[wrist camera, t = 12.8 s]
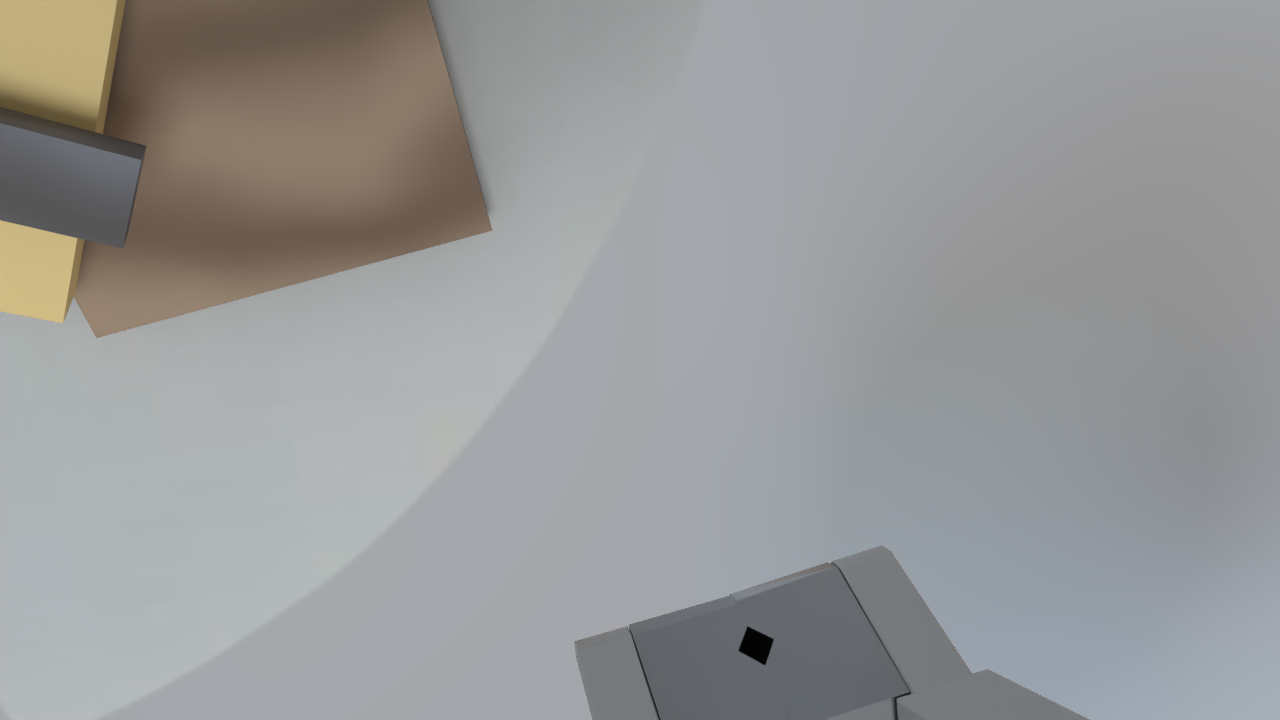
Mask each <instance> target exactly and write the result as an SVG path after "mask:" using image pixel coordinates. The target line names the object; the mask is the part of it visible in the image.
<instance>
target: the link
mask: <svg viewBox="0 0 1280 720" xmlns="http://www.w3.org/2000/svg"><path fill="white" fill-rule="evenodd" d="M125 1H126V0H0V107H3V108H7V109H11V110H15V111H18V112H22V113H26V114H30V115H33V116H37V117H41V118H44V119H48V120H52V121H56V122H59V123H63V124H67V125H71V126H74V127H78V128H82V129H85V130H89V131H93V132H97V133H100V134H103V129H104V124H105V118H106V112H107V106H108V100H109V94H110V88H111V83H112V77H113V71H114V65H115V59H116V53H117V47H118V42H119V36H120V30H121V24H122V18H123V12H124V7H125ZM84 241H85V240H83V239H79V238H75V237H70V236H66V235H62V234H57V233H53V232H49V231H44V230H40V229H36V228H31V227H27V226H23V225H19V224H14V223H10V222H6V221H1V220H0V311H2V312H7V313H12V314H17V315H23V316H28V317H33V318H38V319H44V320H49V321H54V322H60V323H63V322H64V319H65V317H66V314H67V312H68V309H69V307H70V304H71V302H72V299H73V297H74V294H75V292H76V287H77V281H78V276H79V270H80V264H81V258H82V252H83V246H84Z"/></svg>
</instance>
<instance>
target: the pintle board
mask: <svg viewBox="0 0 1280 720" xmlns="http://www.w3.org/2000/svg"><path fill="white" fill-rule="evenodd" d="M0 220H1V221H6V222H10V223H14V224H19V225H23V226H27V227H31V228H36V229H40V230H44V231H49V232H53V233H57V234H62V235H66V236H70V237H75V238H79V239H83V240H85V241H84V246H83V252H82V258H81V264H80V270H79V276H78V281H77V287H76V292H75V294H74V298H75V299H76V301H77V303H78V305H79V307H80V309H81V311H82V312H83V314H84V316H85V318H86V320H87V322H88V323H89V325H90V327H91V329H92V331H93V333H94V334H95V336H96V338H98V337H102V336H105V335H109V334H113V333H116V332H120V331H124V330H127V329H131V328H135V327H139V326H142V325H146V324H150V323H153V322H157V321H161V320H164V319H168V318H172V317H175V316H179V315H183V314H186V313H190V312H194V311H197V310H201V309H205V308H208V307H212V306H216V305H219V304H223V303H227V302H231V301H234V300H238V299H242V298H245V297H249V296H253V295H256V294H260V293H264V292H267V291H271V290H275V289H278V288H282V287H286V286H289V285H293V284H297V283H300V282H304V281H308V280H312V279H315V278H319V277H323V276H326V275H330V274H334V273H337V272H341V271H345V270H348V269H352V268H356V267H359V266H363V265H367V264H370V263H374V262H378V261H381V260H385V259H389V258H393V257H396V256H400V255H404V254H407V253H411V252H415V251H418V250H422V249H426V248H429V247H433V246H437V245H440V244H444V243H448V242H451V241H455V240H459V239H462V238H466V237H470V236H473V235H477V234H481V233H485V232H488V231H492V227H491V224H490V220H489V217H488V213H487V210H486V206H485V203H484V199H483V196H482V192H481V188H480V185H479V181H478V178H477V174H476V171H475V167H474V164H473V160H472V157H471V153H470V149H469V146H468V142H467V139H466V135H465V132H464V128H463V125H462V121H461V118H460V114H459V110H458V107H457V103H456V100H455V96H454V93H453V89H452V86H451V82H450V78H449V75H448V71H447V68H446V64H445V61H444V57H443V54H442V50H441V47H440V43H439V39H438V36H437V32H436V29H435V25H434V22H433V18H432V15H431V11H430V8H429V4H428V0H126V1H125V7H124V12H123V18H122V24H121V30H120V36H119V42H118V47H117V53H116V59H115V65H114V71H113V77H112V83H111V88H110V94H109V100H108V106H107V112H106V118H105V124H104V129H103V134H100V133H97V132H93V131H89V130H85V129H82V128H78V127H74V126H71V125H67V124H63V123H59V122H56V121H52V120H48V119H44V118H41V117H37V116H33V115H30V114H26V113H22V112H18V111H15V110H11V109H7V108H3V107H0Z"/></svg>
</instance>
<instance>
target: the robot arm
mask: <svg viewBox="0 0 1280 720" xmlns="http://www.w3.org/2000/svg"><path fill="white" fill-rule="evenodd" d="M629 631H630V632H629ZM575 650H576V658H577V662H578V666H579V670H580V673H581V677H582V681H583V685H584V689H585V693H586V696H587V700H588V704H589V708H590V712H591V716H592V719H593V720H1089V719H1087V718H1085V717H1083V716H1081V715H1079V714H1077V713H1075V712H1073V711H1071V710H1069V709H1067V708H1065V707H1063V706H1061V705H1059V704H1057V703H1055V702H1053V701H1051V700H1049V699H1047V698H1045V697H1043V696H1041V695H1039V694H1037V693H1035V692H1033V691H1030V690H1028V689H1027V688H1025V687H1023V686H1020V685H1018V684H1017V683H1015V682H1013V681H1011V680H1009V679H1007V678H1004V677H1003V676H1001V675H998V674H996V673H994V672H992V671H990V670H988V669H987V670H984V671H980V672H977V673H973V674H972V673H971V671H970V670H969V668H968V667H967V665H966V664H965V662H964V661H963V659H962V658H961V656H960V655H959V653H958V652H957V650H956V649H955V647H954V646H953V644H952V643H951V641H950V640H949V638H948V637H947V635H946V634H945V632H944V630H943V629H942V628H941V626H940V625H939V623H938V622H937V620H936V618H935V617H934V615H933V614H932V612H931V611H930V609H929V608H928V606H927V605H926V603H925V602H924V600H923V599H922V597H921V596H920V594H919V593H918V591H917V590H916V588H915V587H914V585H913V584H912V582H911V581H910V579H909V578H908V576H907V575H906V573H905V572H904V570H903V569H902V567H901V566H900V564H899V563H898V561H897V560H896V558H895V557H894V555H893V553H892V552H891V551H889V550H888V549H887V548H885V547H884V546H878V547H875V548H872V549H869V550H866V551H863V552H860V553H857V554H853V555H850V556H847V557H844V558H841V559H838V560H835V561H832V562H831V564H830V563H824V564H821V565H818V566H815V567H812V568H809V569H806V570H803V571H800V572H797V573H794V574H791V575H788V576H784V577H781V578H778V579H775V580H772V581H769V582H766V583H763V584H760V585H757V586H754V587H751V588H748V589H745V590H742V591H739V592H736V593H733V594H730V595H729V596H727V597H724V598H720V599H717V600H713V601H710V602H706V603H703V604H699V605H696V606H692V607H689V608H686V609H682V610H679V611H675V612H672V613H668V614H665V615H661V616H658V617H654V618H651V619H648V620H644V621H641V622H637V623H633V624H630V625H629V630H628V627H627V626H626V627H623V628H619V629H616V630H612V631H609V632H606V633H602V634H599V635H596V636H592V637H589V638H585V639H582V640H578V641H575Z"/></svg>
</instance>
